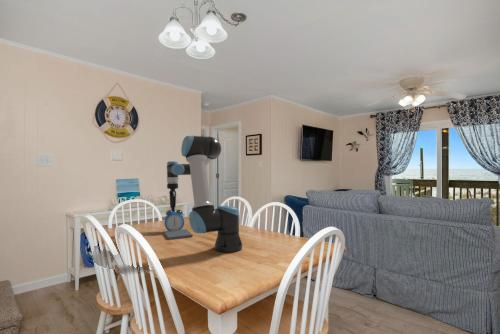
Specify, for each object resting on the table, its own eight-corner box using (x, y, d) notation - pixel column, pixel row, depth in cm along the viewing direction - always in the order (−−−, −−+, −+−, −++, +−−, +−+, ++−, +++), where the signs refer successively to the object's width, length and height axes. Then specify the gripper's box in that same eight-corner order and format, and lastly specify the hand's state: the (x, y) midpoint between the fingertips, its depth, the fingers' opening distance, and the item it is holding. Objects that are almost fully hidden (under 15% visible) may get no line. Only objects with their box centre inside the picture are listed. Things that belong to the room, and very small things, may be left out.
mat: (192, 236, 176) (192, 234, 176) (168, 239, 170) (168, 236, 170) (186, 231, 191) (186, 228, 191) (164, 234, 184) (164, 231, 184)
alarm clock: (164, 233, 186) (164, 211, 186) (164, 231, 192) (164, 209, 192) (184, 231, 190) (184, 210, 190) (183, 229, 196) (183, 208, 196)
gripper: (179, 183, 192) (180, 217, 192) (176, 182, 204) (176, 214, 204) (168, 183, 189) (169, 218, 189) (165, 182, 200) (165, 215, 200)
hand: (172, 216), depth 196 cm, fingers closed
